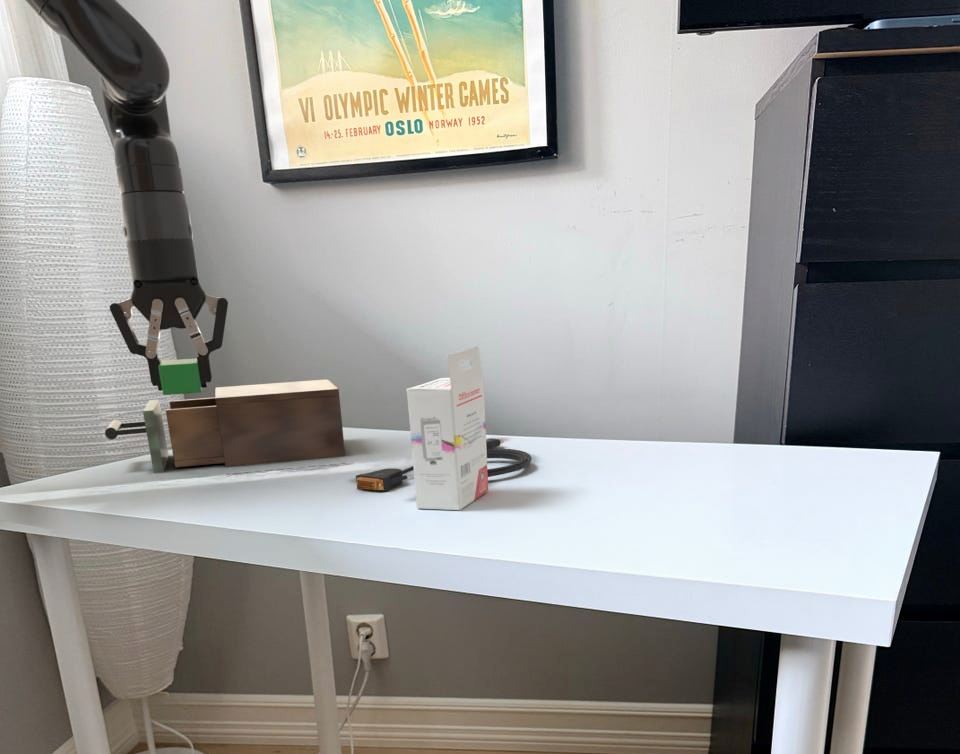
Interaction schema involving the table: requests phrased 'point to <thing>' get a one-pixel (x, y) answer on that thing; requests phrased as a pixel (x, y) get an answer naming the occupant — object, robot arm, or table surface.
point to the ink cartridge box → (449, 435)
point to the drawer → (178, 432)
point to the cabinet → (280, 422)
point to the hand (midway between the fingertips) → (182, 387)
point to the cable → (393, 476)
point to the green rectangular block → (180, 376)
